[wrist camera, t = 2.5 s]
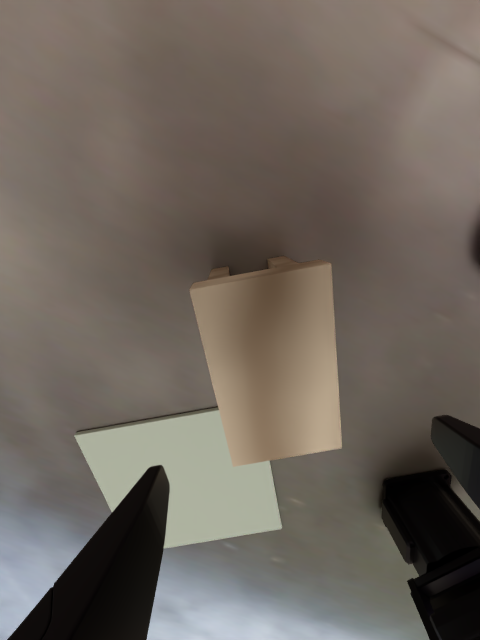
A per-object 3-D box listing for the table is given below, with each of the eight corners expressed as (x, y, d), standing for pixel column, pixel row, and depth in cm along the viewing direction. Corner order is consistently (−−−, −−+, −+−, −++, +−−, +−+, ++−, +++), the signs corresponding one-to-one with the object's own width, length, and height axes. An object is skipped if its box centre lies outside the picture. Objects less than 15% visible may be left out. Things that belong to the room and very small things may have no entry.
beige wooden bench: (288, 249, 18) (331, 263, 11) (302, 371, 22) (342, 448, 14) (204, 264, 18) (189, 289, 11) (231, 384, 22) (233, 466, 14)
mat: (258, 400, 22) (259, 403, 22) (281, 524, 28) (282, 528, 27) (76, 432, 23) (74, 435, 22) (133, 549, 28) (132, 553, 28)
